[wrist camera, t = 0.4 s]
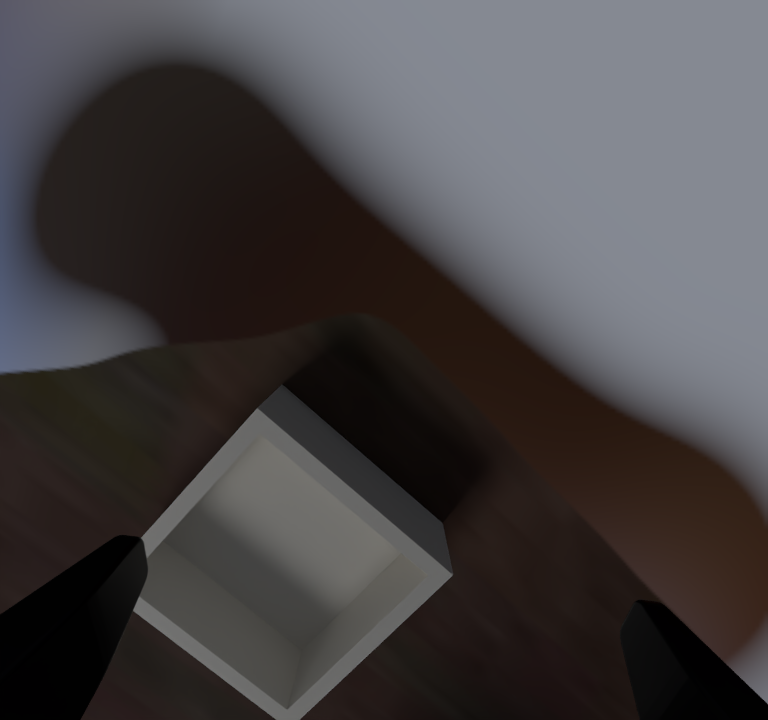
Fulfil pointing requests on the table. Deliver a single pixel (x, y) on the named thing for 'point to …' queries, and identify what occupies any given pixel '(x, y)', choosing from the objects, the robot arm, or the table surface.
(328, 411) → the table surface
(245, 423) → the cream crate
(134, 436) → the table surface
